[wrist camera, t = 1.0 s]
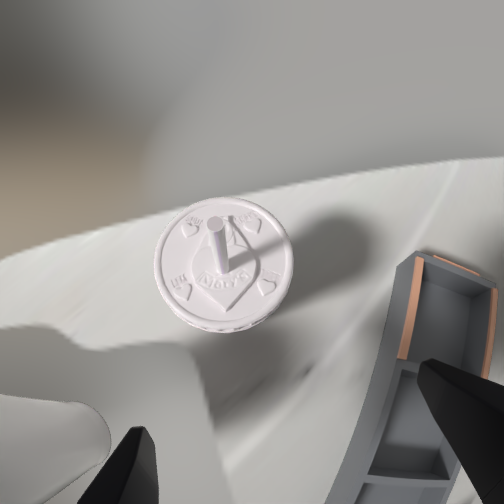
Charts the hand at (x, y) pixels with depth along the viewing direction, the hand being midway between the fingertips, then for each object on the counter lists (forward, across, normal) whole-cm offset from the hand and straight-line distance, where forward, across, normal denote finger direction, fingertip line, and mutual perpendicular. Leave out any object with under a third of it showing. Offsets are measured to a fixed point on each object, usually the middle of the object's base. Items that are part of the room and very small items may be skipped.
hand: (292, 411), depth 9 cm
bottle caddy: (+6, -10, +13) cm, 17 cm away
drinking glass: (+9, +14, +10) cm, 20 cm away
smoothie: (+14, +1, +4) cm, 15 cm away
